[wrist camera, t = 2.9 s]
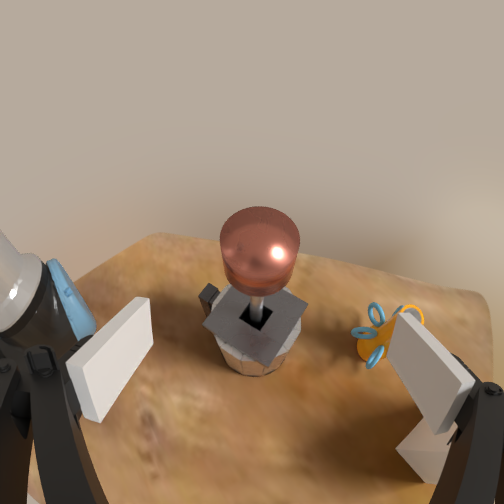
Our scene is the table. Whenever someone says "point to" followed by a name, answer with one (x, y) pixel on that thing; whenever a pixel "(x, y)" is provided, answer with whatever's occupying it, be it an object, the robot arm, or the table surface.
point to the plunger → (259, 254)
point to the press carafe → (252, 328)
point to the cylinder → (380, 333)
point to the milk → (426, 451)
